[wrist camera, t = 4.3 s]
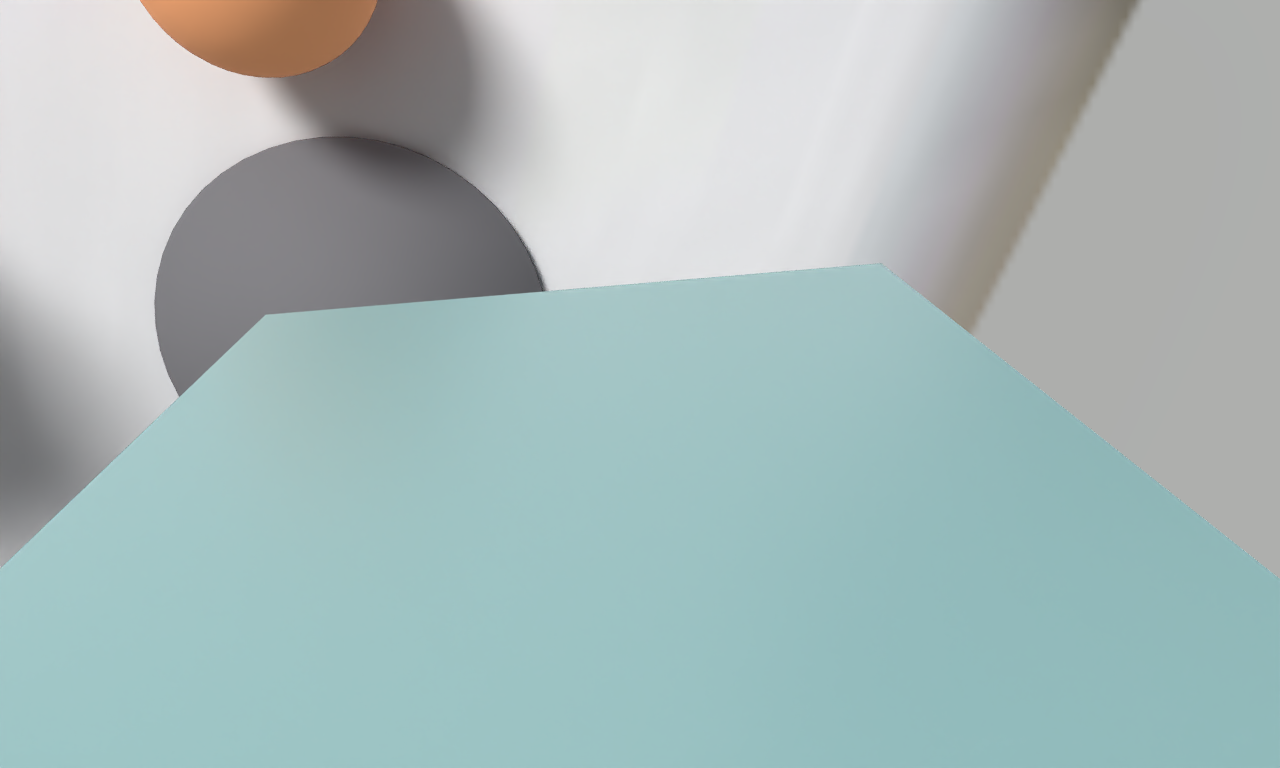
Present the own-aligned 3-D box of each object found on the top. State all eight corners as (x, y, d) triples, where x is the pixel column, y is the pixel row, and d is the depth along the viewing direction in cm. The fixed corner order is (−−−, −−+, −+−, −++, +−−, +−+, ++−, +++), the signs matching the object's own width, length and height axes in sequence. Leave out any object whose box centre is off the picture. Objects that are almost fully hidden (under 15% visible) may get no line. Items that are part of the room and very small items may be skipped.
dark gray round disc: (527, 122, 23) (526, 123, 23) (564, 485, 27) (563, 488, 26) (112, 151, 23) (108, 153, 22) (206, 516, 26) (204, 519, 26)
